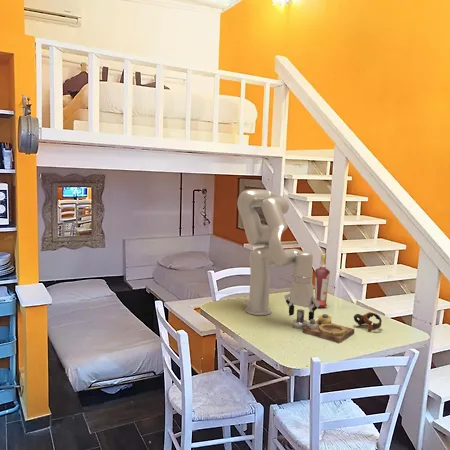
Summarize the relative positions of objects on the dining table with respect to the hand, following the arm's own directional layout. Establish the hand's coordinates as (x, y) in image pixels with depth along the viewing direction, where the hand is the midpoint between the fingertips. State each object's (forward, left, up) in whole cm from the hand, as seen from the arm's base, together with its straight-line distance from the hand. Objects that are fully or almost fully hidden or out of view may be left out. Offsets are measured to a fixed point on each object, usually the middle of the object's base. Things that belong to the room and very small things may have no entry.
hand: (301, 317), depth 194 cm
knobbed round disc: (0, 0, -4) cm, 4 cm away
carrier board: (+13, +2, -4) cm, 13 cm away
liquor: (-7, +34, -4) cm, 35 cm away
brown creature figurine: (+23, +20, -5) cm, 31 cm away
